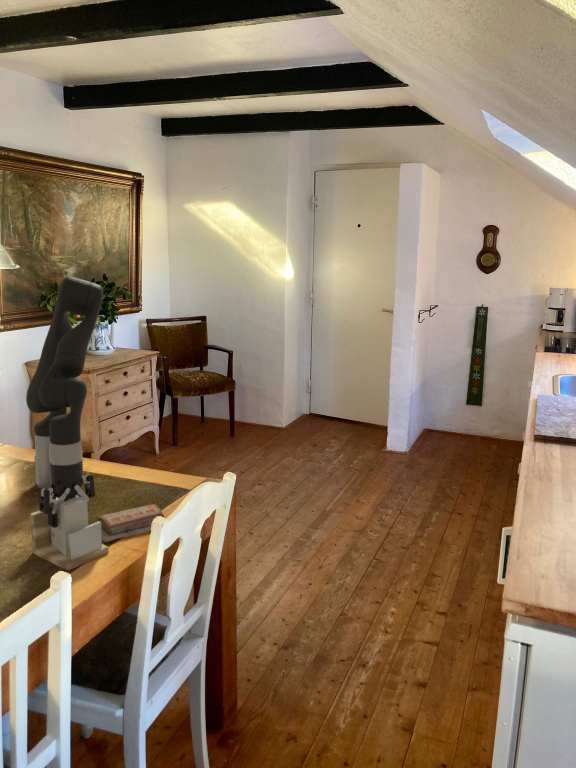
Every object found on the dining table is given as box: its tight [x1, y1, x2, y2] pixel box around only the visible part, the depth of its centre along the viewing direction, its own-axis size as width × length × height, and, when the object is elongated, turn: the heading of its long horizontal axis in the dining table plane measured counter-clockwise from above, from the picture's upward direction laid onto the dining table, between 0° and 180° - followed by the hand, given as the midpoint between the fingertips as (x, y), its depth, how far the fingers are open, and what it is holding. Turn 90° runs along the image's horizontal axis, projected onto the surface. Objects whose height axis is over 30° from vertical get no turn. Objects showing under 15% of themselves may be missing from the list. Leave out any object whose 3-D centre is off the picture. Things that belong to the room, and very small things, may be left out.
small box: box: [50, 495, 89, 556], centre depth 160 cm, size 8×6×13 cm
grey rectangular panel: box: [68, 520, 103, 562], centre depth 157 cm, size 1×9×7 cm, turn 144°
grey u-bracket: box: [30, 510, 110, 572], centre depth 161 cm, size 14×12×10 cm
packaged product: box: [98, 503, 165, 543], centre depth 176 cm, size 18×5×10 cm
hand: (68, 520), depth 160 cm, fingers open, 8 cm apart
